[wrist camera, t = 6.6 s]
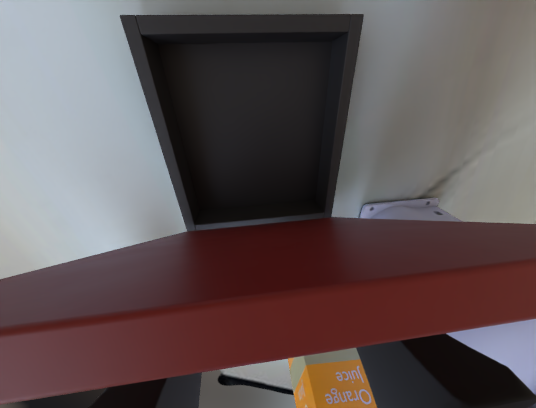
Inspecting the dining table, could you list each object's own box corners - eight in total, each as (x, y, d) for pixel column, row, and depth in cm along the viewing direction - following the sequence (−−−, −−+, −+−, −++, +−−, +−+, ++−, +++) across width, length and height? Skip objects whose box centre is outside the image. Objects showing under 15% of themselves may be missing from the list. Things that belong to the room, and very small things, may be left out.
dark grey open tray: (146, 32, 13) (119, 14, 10) (339, 29, 14) (364, 13, 11) (195, 213, 20) (187, 232, 17) (319, 202, 21) (331, 218, 19)
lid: (-405, 381, 2) (-444, 871, 2) (759, 231, 3) (817, 500, 3) (186, 231, 17) (189, 274, 17) (332, 217, 18) (336, 257, 18)
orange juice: (335, 295, 31) (454, 549, 14) (322, 325, 35) (400, 547, 18) (288, 297, 30) (353, 579, 12) (281, 328, 34) (321, 569, 17)
